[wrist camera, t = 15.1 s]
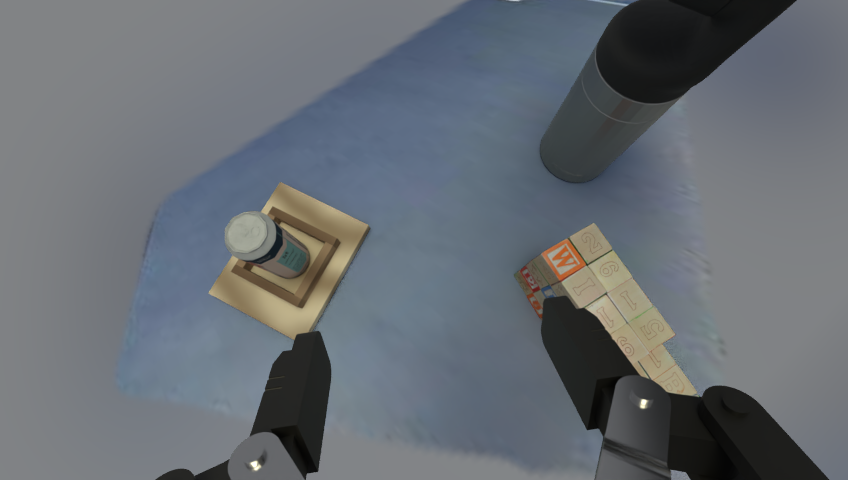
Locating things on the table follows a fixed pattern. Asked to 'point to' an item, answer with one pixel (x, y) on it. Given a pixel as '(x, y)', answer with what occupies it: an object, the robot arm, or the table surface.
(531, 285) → the stack of blocks
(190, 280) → the table surface
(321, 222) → the base board
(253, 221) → the beer can
